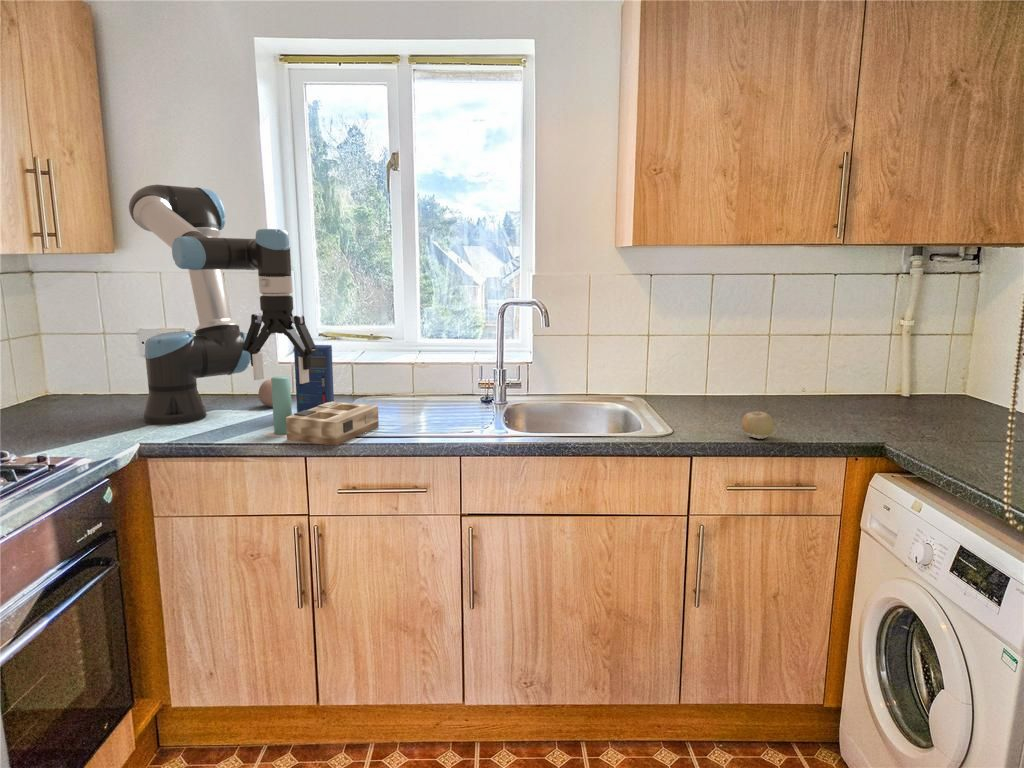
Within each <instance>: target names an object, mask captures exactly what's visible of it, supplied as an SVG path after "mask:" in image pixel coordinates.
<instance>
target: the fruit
mask: <svg viewBox="0 0 1024 768" xmlns="http://www.w3.org/2000/svg"><path fill="white" fill-rule="evenodd" d="M741 427H742V431H743V432H744V431H745V432H747V433H750V434H755V435H770V434H772V433H773V430H774V421H773V418H772V417H771V415H770V414H768V412H767V413H766V412H765V411H763V408H762V407H761V408H760V410H759V411H750V412H747V413H746V414H745V415H744V416H743V417H742V420H741ZM745 432H744V433H745ZM770 436H771V435H770Z"/></svg>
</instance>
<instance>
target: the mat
mask: <svg viewBox="0 0 1024 768" xmlns="http://www.w3.org/2000/svg"><path fill="white" fill-rule="evenodd" d="M260 436H265V437H270V438H271V437H273V438H281V439H287V434H286V435H276V434H274V429H271V430H270V431H266V432H264V433H261V434H260Z"/></svg>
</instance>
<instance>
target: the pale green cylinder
mask: <svg viewBox="0 0 1024 768" xmlns="http://www.w3.org/2000/svg"><path fill="white" fill-rule="evenodd" d="M270 379H271V385H272V402H273V407H272V413H273V414H272V415H273V418H272V419H273V430H274V434H276V435H286V434H287V427H286V417H288V416H291V415H293V411H292V409H293V408H292V393H291V392H292V390H291V388H292V387H291V377H290V376H274V377H271V378H270Z"/></svg>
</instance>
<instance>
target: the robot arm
mask: <svg viewBox="0 0 1024 768" xmlns="http://www.w3.org/2000/svg"><path fill="white" fill-rule="evenodd" d="M128 211H129V215H130V217H131V219H132V220H133V222H134V223H135V224H137V226H138V227H140V228H141V229H142V230H145V231H147V232H151V233H153V234H154V235H155V236H157V237H158V238H159V239H160V240H161V241H162V242H164V244H166V245H167V246H168V247H170V248H171V254H172V255H171V256H172V259H173V261H174V264H175V265H176V267H178V268H179V269H182V270H188V274H189V278H190V283H191V284H190V285H191V288H192V289H191V290H192V294H193V299H194V303H195V308H196V314H197V319H198V326H197V327H196V328H195V330H194V333H193V331H189V330H180V331H172V332H171V331H170V332H165V333H159V334H156V335H153V336H150V337H148V338H147V339H146V341H144V358H145V365H146V375H147V376H146V377H147V387H148V394H147V400H146V403H145V404H146V405H145V409H144V410H143V414H142V415H143V421H144V423H145V424H148V425H153V426H155V425H156V426H172V425H182V424H183V425H184V424H187V423H193V422H198V421H201V420H203V419H205V418H206V417H207V410H206V406H205V405H204V403H203V401H202V398H201V395H200V393H199V391H198V384H197V379H200V378H209V377H218V376H225V375H227V376H231V375H234V374H240V373H243V372H244V371H246V369H248V368H249V365H250V366H251V367H252V372H253V381H259V380H264V379H265V376H264V374H265V373H264V360H263V359H264V357H263V353H262V352H261V351H262V350H261V349H262V348H263V346H264V345H265V343H266V342H267V340H268V339H269V337H270V336H271V335H272V334H276V333H277V334H284V336H286V337H287V338H288V340H289V341H290V342H291V344H292V345H293V347H294V346H295V348H296V349H297V350H298V352H299V353H300V354H301V355H300V357H298V361H299V379H300V384H303V383H307V382H309V369H310V368H311V360H310V356H311V355H312V354H315V353H317V348H316V346H315V345H316V344H315V342H314V339H313V338H312V336H311V333H310V331H309V329H308V327H307V325H306V321H305V315H303V314H299V315H294V316H293V310H294V299H293V295H291V294H292V293H293V291H294V290H293V279H292V277H293V276H292V260H291V257H292V256H291V244H290V236H289V232H288V231H287V230H286V229H280V228H279V229H277V228H261V229H257V230H256V231H255V238H236V237H235V238H233V237H220V235H221V231H222V230H223V229H224V228H225V224H226V210H225V206H224V204H223V201H222V200H221V198H220V196H219V195H218V194H217V193H216V192H215V191H213V190H211V189H208V188H201V187H196V186H195V187H190V186H178V185H165V184H150V185H146V186H144V187H142V188H139V189H137V191H136V192H134V193H133V195H132V196H131V198H130V200H129V203H128ZM223 270H230V271H231V270H239V271H240V270H242V271H243V270H246V271H247V270H248V271H255V270H257V275H258V276H257V277H258V288H259V289H258V290H259V293H260V294H262V295H261V296H259V306H260V311H262V314H261V313H252V314H251V316H250V325H249V328H248V330H247V333H246V332H243V331H241V330H240V325H239V324H238V323H237V322H235V321H234V320H233V317H232V313H231V309H230V305H229V304H230V303H229V298H228V294H227V289H226V284H225V278H224V274H223ZM262 323H263V325H262ZM194 334H195V335H194Z"/></svg>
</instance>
